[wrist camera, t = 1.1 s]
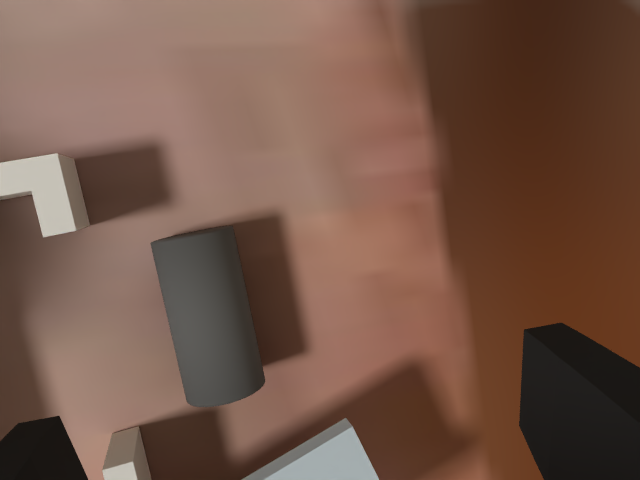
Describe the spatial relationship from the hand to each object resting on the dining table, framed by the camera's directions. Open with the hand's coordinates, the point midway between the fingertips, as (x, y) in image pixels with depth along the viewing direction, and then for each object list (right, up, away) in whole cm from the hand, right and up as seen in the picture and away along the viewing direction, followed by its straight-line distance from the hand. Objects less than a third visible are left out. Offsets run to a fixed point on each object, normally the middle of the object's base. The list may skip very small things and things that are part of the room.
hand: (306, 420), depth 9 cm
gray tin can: (-5, 0, +13) cm, 14 cm away
